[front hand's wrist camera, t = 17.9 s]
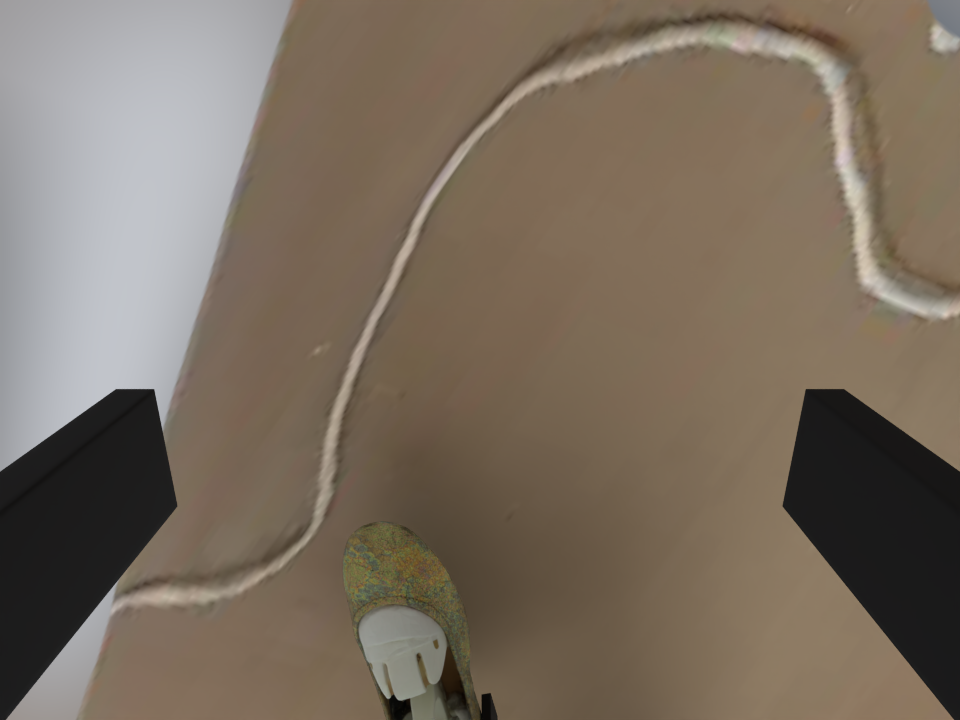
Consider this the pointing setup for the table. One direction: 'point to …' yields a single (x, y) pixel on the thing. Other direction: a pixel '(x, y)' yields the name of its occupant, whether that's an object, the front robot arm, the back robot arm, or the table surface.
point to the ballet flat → (409, 625)
